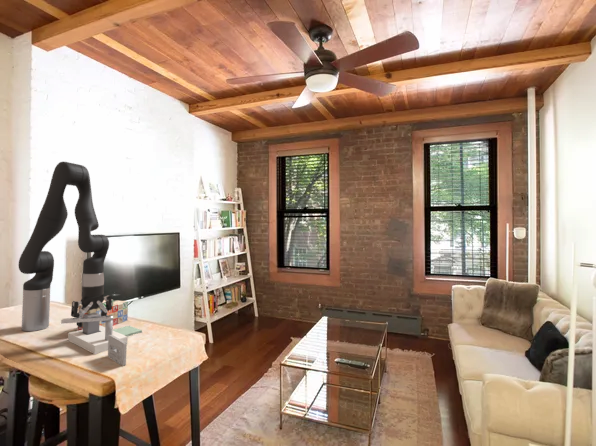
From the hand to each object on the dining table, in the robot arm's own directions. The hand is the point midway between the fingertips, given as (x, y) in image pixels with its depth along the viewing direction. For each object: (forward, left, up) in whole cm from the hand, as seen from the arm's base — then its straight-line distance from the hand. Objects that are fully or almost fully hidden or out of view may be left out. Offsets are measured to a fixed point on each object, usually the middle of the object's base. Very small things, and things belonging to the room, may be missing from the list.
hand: (91, 324), depth 129 cm
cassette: (+27, -4, -6) cm, 28 cm away
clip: (+9, -6, +4) cm, 12 cm away
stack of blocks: (-12, +11, -7) cm, 17 cm away
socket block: (+5, 0, -6) cm, 8 cm away
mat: (+3, +12, -6) cm, 14 cm away
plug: (0, 0, -6) cm, 6 cm away
